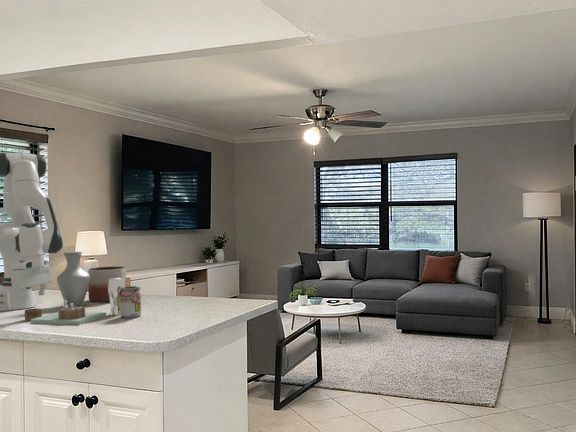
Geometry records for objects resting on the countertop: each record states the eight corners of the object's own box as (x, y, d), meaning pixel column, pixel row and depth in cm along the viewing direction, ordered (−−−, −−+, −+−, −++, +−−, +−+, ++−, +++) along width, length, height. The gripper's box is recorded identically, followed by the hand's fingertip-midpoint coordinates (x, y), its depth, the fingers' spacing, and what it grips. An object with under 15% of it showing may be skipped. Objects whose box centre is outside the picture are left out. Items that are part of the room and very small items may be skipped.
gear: (21, 320, 228) (21, 310, 228) (32, 318, 234) (31, 307, 234) (34, 321, 226) (34, 310, 226) (44, 318, 232) (44, 308, 232)
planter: (111, 296, 291) (110, 265, 291) (134, 298, 281) (133, 267, 281) (81, 301, 277) (80, 269, 277) (103, 304, 266) (102, 270, 266)
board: (30, 323, 222) (30, 305, 222) (60, 314, 239) (60, 298, 239) (79, 324, 216) (79, 306, 216) (106, 316, 234) (106, 299, 234)
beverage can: (134, 319, 226) (134, 289, 225) (115, 319, 227) (114, 289, 227) (144, 314, 235) (144, 286, 235) (125, 314, 236) (125, 286, 236)
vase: (76, 309, 254) (74, 253, 254) (50, 307, 259) (49, 253, 259) (97, 303, 267) (96, 250, 267) (72, 302, 272) (71, 250, 272)
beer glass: (110, 316, 233) (109, 279, 233) (107, 313, 239) (106, 278, 239) (127, 314, 237) (126, 278, 236) (124, 312, 243) (123, 277, 243)
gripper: (42, 260, 240) (44, 293, 240) (7, 265, 221) (9, 300, 221) (55, 260, 239) (57, 293, 239) (21, 264, 219) (22, 300, 219)
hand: (33, 297), depth 230 cm, fingers open, 8 cm apart
